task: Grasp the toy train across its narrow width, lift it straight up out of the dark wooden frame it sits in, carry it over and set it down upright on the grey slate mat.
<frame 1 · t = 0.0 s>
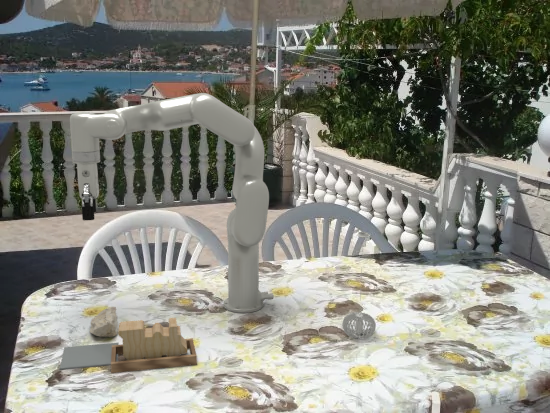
hand: (89, 215, 179), 31 cm above the table, tool pointing down, fingers open, 9 cm apart
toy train: (153, 360, 160), resting in pocket frame
slate mat: (90, 356, 161), on the table
stone: (104, 332, 176), on the table
pocket frame: (153, 359, 160), on the table
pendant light: (358, 335, 176), on the table
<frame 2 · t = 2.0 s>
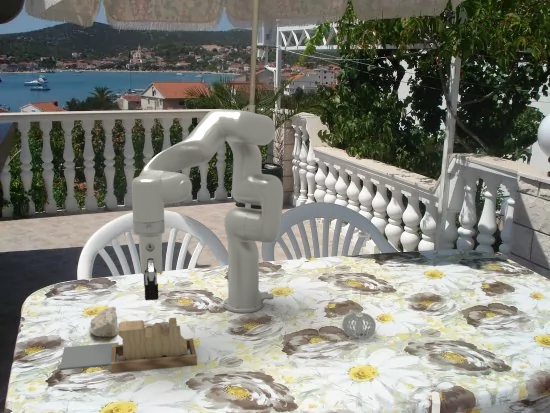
hand: (151, 292, 156), 18 cm above the table, tool pointing down, fingers open, 9 cm apart
nothing on the table moved.
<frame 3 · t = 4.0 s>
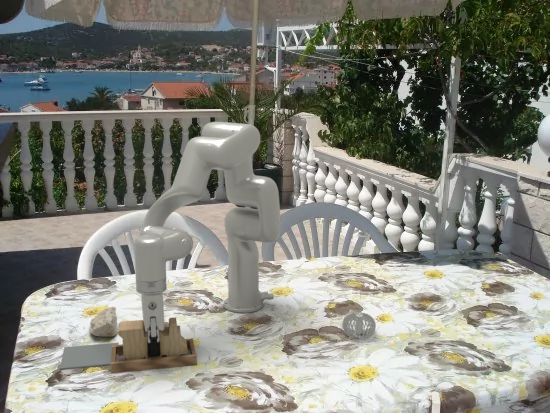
hand: (153, 349, 160), 3 cm above the table, tool pointing down, fingers closed on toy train, 5 cm apart
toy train: (154, 359, 160), resting in pocket frame, touching gripper
everything else where it was.
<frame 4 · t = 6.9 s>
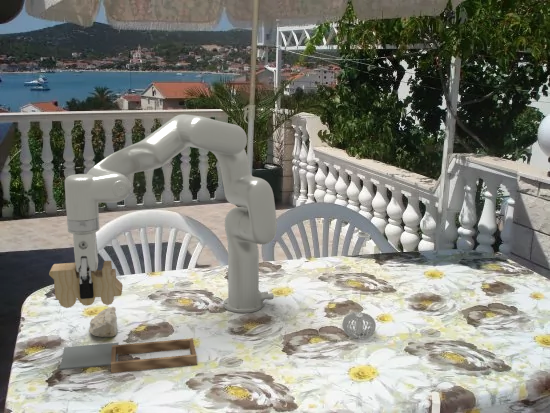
hand: (87, 292, 157), 17 cm above the table, tool pointing down, fingers closed on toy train, 5 cm apart
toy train: (88, 303, 158), point 15 cm above the table, touching gripper
everything else where it was.
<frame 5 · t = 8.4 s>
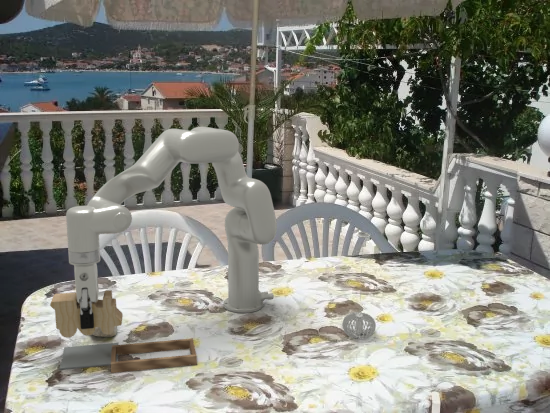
hand: (88, 322, 159), 9 cm above the table, tool pointing down, fingers closed on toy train, 5 cm apart
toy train: (88, 332, 160), point 7 cm above the table, touching gripper
everything else where it was.
when the fingers open (4 cm above the table, at t = 9.9 s): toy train stays where it is, resting on pocket frame, slate mat.
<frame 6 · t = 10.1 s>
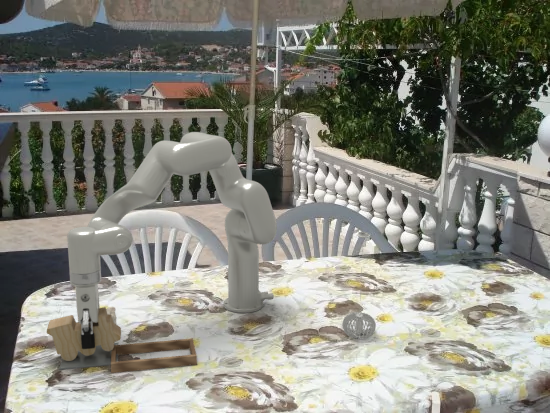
hand: (89, 341, 160), 4 cm above the table, tool pointing down, fingers open, 7 cm apart
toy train: (90, 352, 161), point 1 cm above the table, touching pocket frame, slate mat
everything else where it was.
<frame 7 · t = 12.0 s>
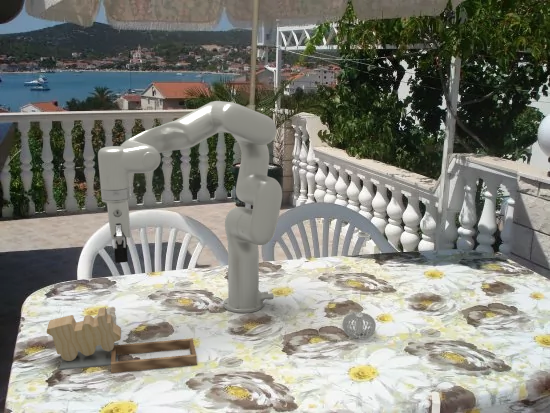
hand: (121, 256, 166), 24 cm above the table, tool pointing down, fingers open, 9 cm apart
nothing on the table moved.
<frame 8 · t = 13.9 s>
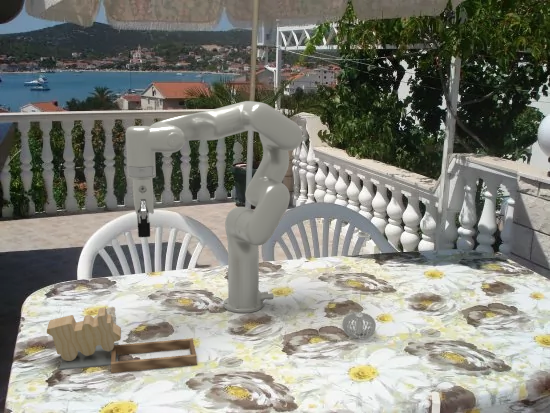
hand: (143, 232, 173), 28 cm above the table, tool pointing down, fingers open, 9 cm apart
nothing on the table moved.
at the end: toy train inside the target area (0.2 cm from its centre), point 1.3 cm above the table; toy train tilted 10°; the gripper is holding nothing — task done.
